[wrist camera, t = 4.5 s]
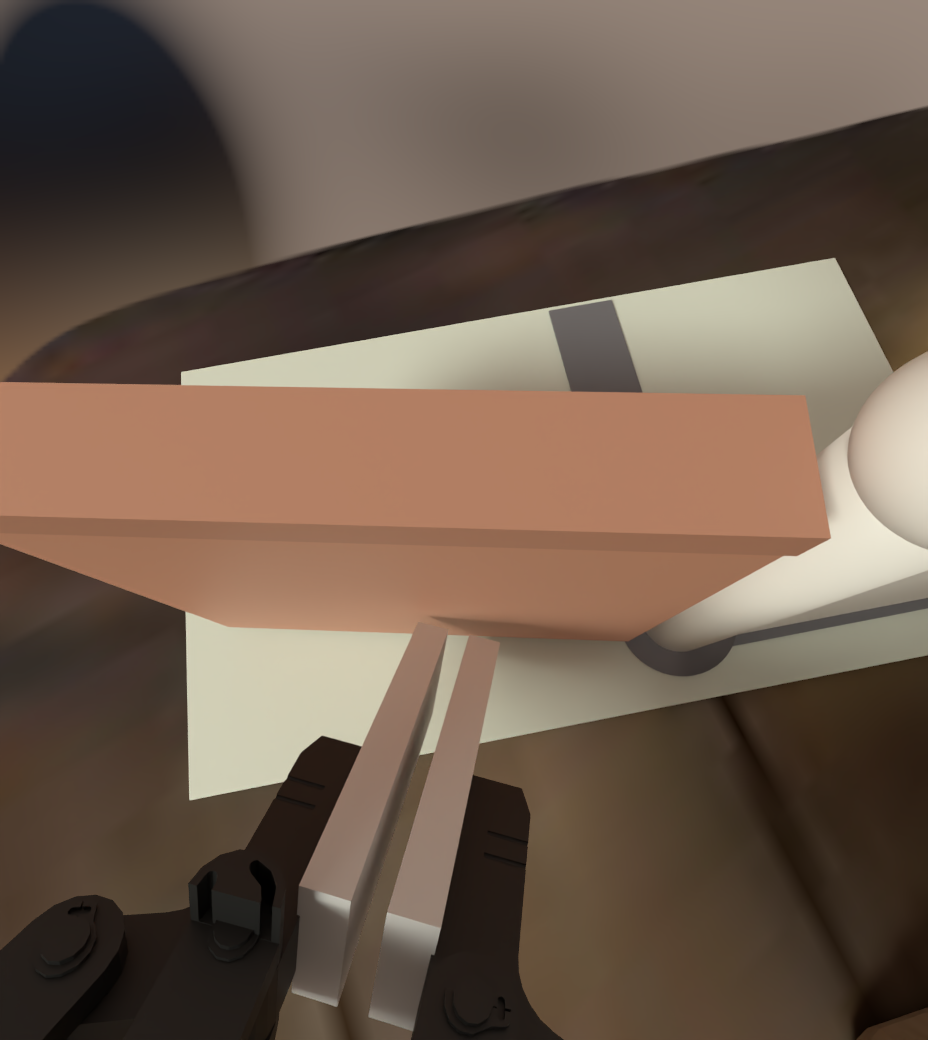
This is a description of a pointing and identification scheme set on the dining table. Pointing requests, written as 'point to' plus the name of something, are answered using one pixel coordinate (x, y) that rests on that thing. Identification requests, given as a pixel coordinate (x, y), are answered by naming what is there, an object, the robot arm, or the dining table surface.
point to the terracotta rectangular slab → (410, 501)
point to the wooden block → (900, 1028)
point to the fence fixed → (841, 529)
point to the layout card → (539, 661)
